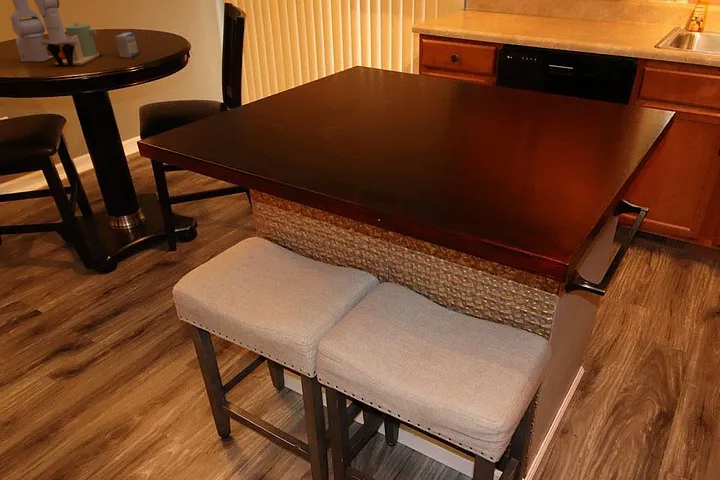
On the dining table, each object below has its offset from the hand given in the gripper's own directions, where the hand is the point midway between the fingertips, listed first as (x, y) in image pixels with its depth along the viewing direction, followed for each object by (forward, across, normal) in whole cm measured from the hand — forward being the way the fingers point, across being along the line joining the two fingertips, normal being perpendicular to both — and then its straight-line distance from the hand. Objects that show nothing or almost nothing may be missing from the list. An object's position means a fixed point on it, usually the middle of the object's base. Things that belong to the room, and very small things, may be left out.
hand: (66, 64), depth 221 cm
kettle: (+1, +1, +16) cm, 16 cm away
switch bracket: (+1, 0, +7) cm, 7 cm away
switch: (-4, 0, +4) cm, 6 cm away
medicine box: (+1, +17, +18) cm, 25 cm away
